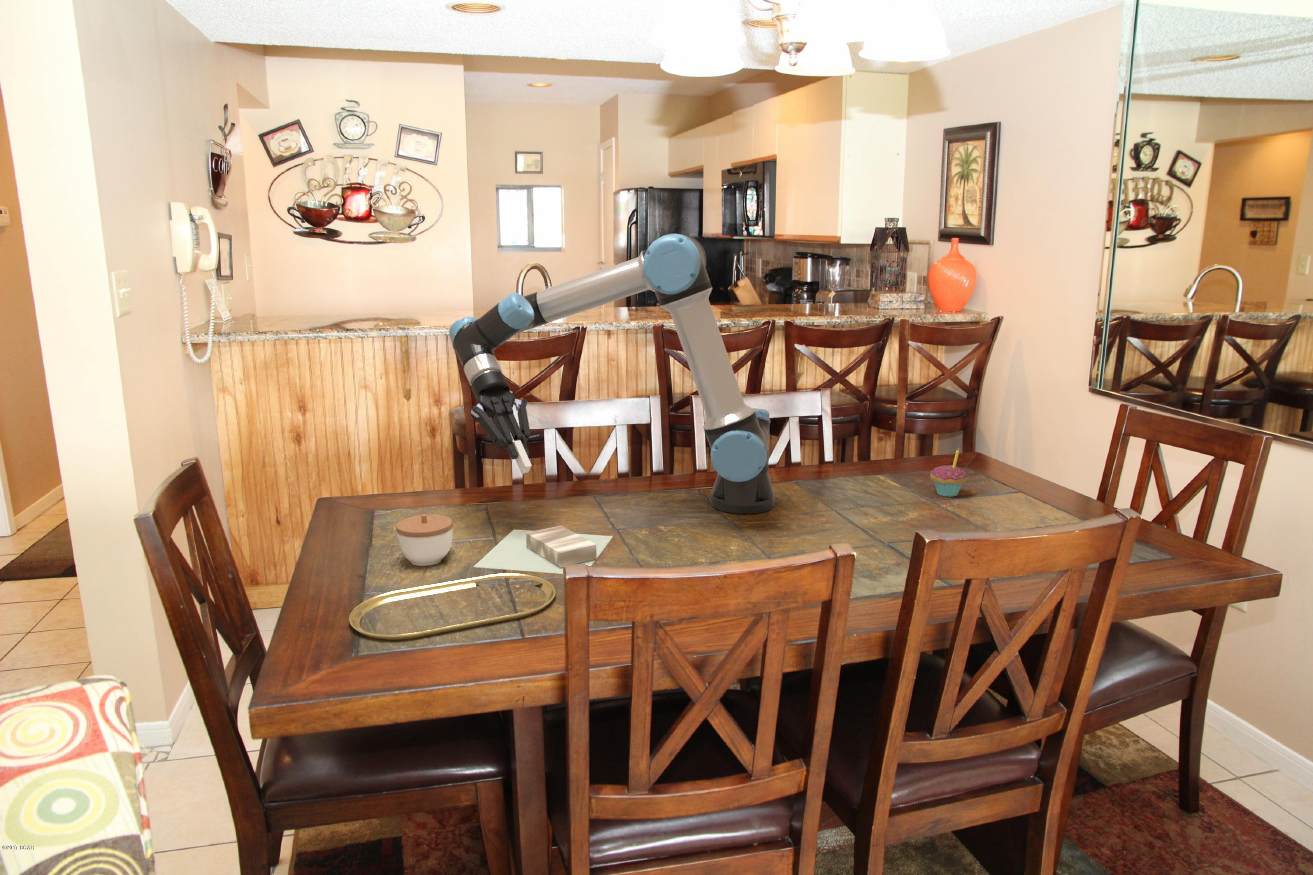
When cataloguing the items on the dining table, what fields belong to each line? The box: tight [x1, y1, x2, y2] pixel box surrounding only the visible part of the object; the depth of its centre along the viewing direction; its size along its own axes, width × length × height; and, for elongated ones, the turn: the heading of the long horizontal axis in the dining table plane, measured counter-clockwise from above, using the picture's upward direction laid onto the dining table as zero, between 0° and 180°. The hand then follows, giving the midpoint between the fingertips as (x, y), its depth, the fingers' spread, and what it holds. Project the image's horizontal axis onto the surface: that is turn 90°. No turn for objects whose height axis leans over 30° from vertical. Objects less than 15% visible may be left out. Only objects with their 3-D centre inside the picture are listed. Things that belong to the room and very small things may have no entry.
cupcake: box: [929, 447, 968, 498], centre depth 217 cm, size 9×8×12 cm
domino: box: [526, 525, 598, 568], centre depth 178 cm, size 3×8×14 cm
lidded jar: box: [395, 513, 454, 567], centre depth 175 cm, size 11×11×9 cm
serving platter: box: [348, 573, 556, 641], centre depth 154 cm, size 19×35×2 cm, turn 115°
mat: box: [473, 529, 614, 575], centre depth 180 cm, size 22×22×1 cm
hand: (526, 469), depth 185 cm, fingers closed
